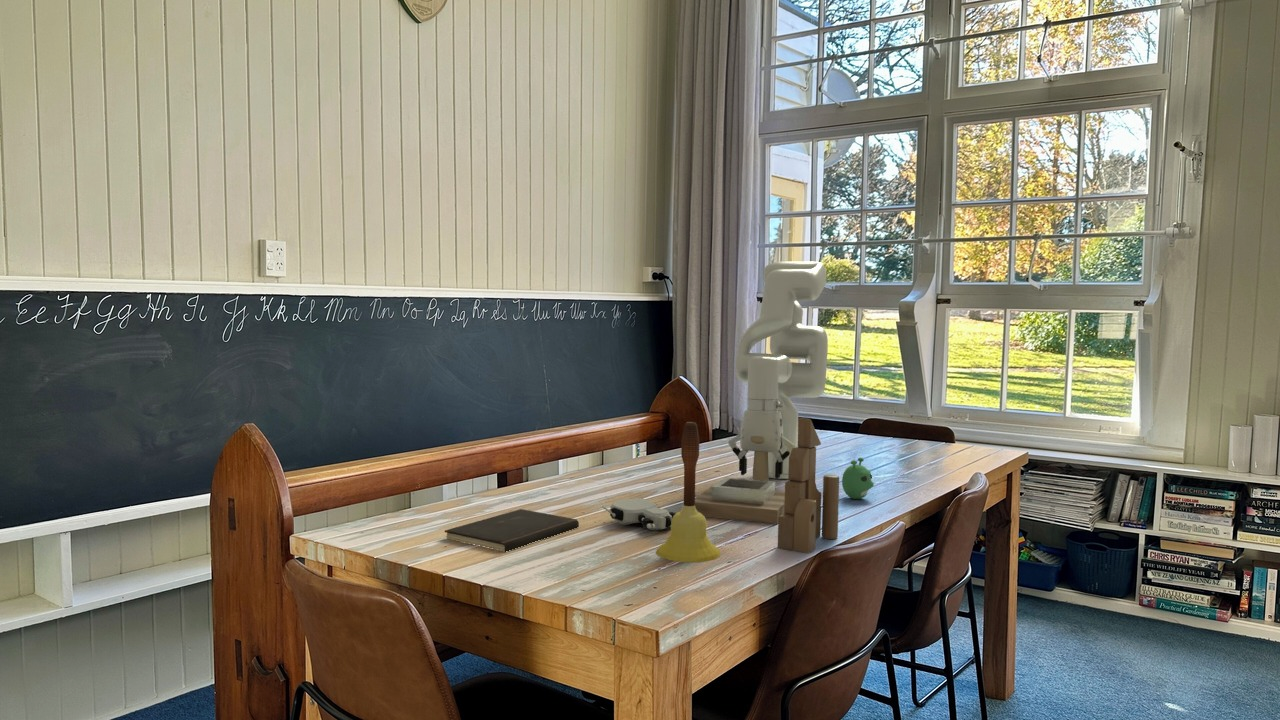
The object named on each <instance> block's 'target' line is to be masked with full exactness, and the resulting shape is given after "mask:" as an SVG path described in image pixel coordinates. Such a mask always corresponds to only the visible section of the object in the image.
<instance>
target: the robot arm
mask: <svg viewBox="0 0 1280 720" xmlns="http://www.w3.org/2000/svg"><path fill="white" fill-rule="evenodd" d="M763 280H764V285H763V287H764V288H763V294H762V301H761V306H760V307H761V308H760V313H759V315H760V316H759V318H758V319H756V320H755V321H754V322H753V323H752V324H751V325H750V326H749V327H748V328H746V330H745V332H744V333H743V335H742V336H741V337H740V339H739V341H738V344H737V352H736V357H735V367H734V368H735V369H734V371H735V376H736V378H737V379H738V380H740V381H741V382H743V383H744V382H745V383H747V391H746V392H747V393H746V395H747V398H746V400H747V401H746V409H745V410H744V411H743V416H742V421H741V423H742V424H741V429H740V434H738V435H736V436H734V437H733V438H731V439H730V440H728V441H727V442H728V446H729V447H730V448H731V450H732V452H733V453H734V454H735V455H736V457H737V458H738V468H739V469H738V471H739V472H740V475H741V476H744V475H746V474H747V469H748V468H747V467H748V458H747V457H746V455H747V454H748V452H754V451H761V452H768V467H769V472H768V473H769V477H768V479H776V480H778V479H779V480H781V479H782V480H788V469H789V456H790V453H791V451H792V448H794V447H798V419H799V411H798V409H797V407H796V406H795V404H794V403H793V402H792V400H791V398H804V399H805V398H810V399H813V398H814V399H815V398H816V399H817V398H820V397H821V396H822V395H823V394H824V392H825V389H826V380H827V367H828V366H827V365H828V351H829V344H828V335H827V331H826V330H825V329H824V328H823V327H822V326H818V325H803V315H804V310H803V307H802V305H801V304H800V303H799V302H812V301H815V300H817V299H818V298H819V297H820V295H821V294H822V292H823V290H824V289H825V286H826V283H827V269H826V267H825V265H824V264H823V263H822V262H821V261H820V262H819V261H792V260H791V261H789V260H788V261H787V260H786V261H776V262H775V261H773V262H771V263H769V264H767V265H766V266H765V267H764V270H763ZM767 338H769V350H770V353H766V352H765V353H763V352H762V353H760V352H759V353H758V352H751V351H752V349H753V347H754V346H755V345H757V344H758V343H759V342H760V341H761V342H762V341H763V340H766V339H767ZM791 360H805V361H806V360H807V361H808V362H793V361H791ZM751 436H754V437H764V443H761V444H756V443H753V442H752V441H751ZM738 441H740V444H739V445H740V448H741V449H740V448H739V446H738V445H737V442H738Z"/></svg>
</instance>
